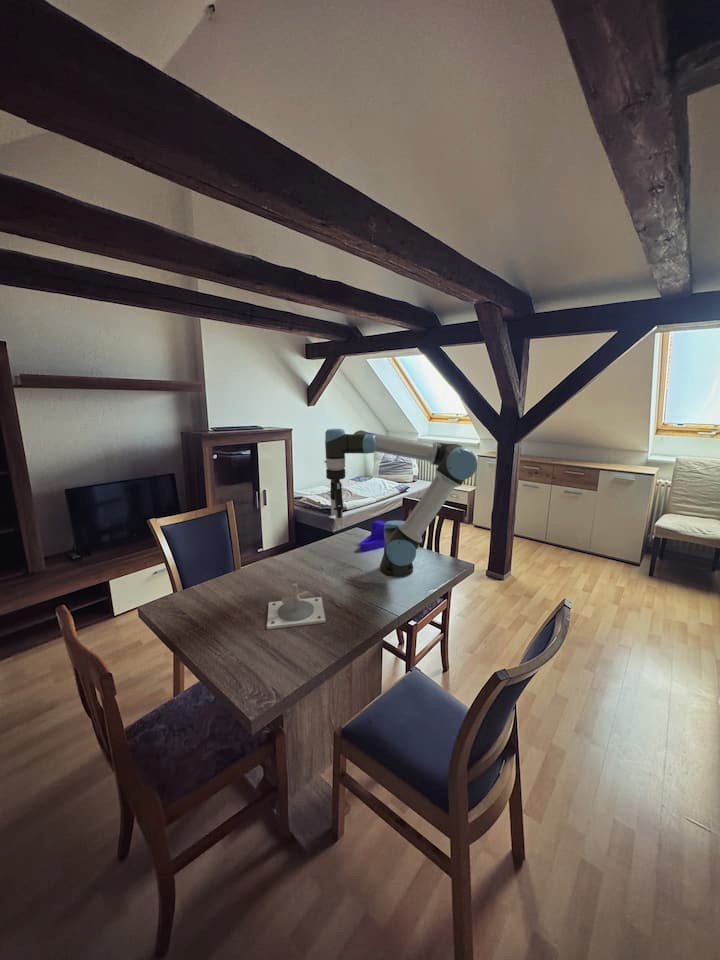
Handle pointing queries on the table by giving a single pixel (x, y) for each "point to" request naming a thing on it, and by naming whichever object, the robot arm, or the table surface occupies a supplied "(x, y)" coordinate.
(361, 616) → the table surface
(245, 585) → the table surface
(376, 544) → the bracket
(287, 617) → the duct panel
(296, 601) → the pipe connector
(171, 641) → the table surface
